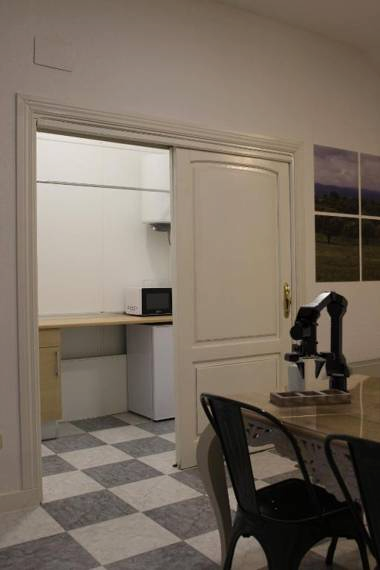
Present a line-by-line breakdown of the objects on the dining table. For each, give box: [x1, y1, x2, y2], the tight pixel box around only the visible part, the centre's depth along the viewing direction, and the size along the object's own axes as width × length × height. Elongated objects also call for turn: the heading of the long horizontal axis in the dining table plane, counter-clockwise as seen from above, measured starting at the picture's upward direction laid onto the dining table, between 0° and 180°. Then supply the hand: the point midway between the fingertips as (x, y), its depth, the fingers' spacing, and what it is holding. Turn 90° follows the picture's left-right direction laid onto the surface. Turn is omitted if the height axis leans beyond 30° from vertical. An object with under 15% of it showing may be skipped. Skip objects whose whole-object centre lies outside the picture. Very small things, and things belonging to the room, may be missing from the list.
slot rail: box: [269, 388, 352, 407], centre depth 223 cm, size 28×12×3 cm, turn 102°
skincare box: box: [287, 364, 307, 392], centre depth 236 cm, size 6×4×12 cm
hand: (309, 379), depth 223 cm, fingers open, 5 cm apart
